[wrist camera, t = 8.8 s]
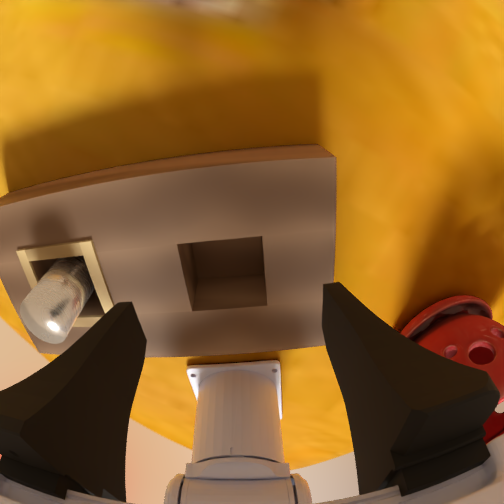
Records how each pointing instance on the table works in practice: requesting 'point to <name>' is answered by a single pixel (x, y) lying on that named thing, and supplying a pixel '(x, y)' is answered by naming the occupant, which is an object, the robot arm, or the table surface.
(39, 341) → the bore block
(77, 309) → the pin
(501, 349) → the plant pot
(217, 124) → the table surface
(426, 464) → the robot arm
